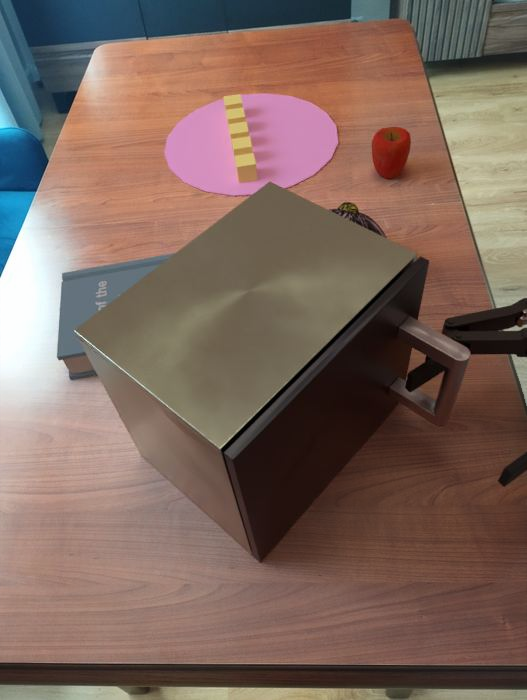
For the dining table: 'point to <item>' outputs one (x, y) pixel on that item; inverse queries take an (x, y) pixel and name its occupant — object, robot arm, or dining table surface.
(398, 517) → the dining table surface
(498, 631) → the dining table surface
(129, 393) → the storage compartment
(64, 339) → the book
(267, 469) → the compartment door
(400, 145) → the apple
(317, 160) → the platter
